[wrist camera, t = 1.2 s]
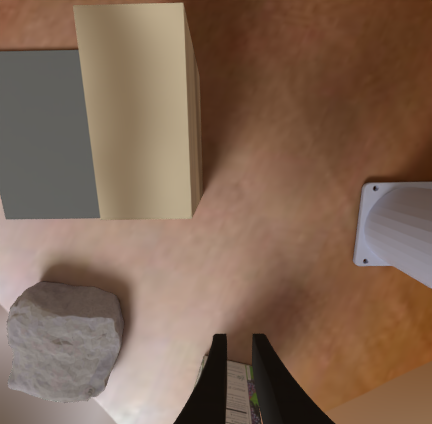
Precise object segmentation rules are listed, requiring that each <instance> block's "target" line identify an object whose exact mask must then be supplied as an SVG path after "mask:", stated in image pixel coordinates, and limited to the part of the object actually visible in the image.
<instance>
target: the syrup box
mask: <svg viewBox="0 0 432 424" xmlns="http://www.w3.org/2000/svg"><path fill="white" fill-rule="evenodd" d="M207 358H208V356H204V357H203V360H202V364H201V367H200V371H199V374H198V377H197V381H196V384H197V382H198V380H199V377H200V375H201V373H202V371H203V368H204V366H205V363H206V361H207ZM196 384H195V386H196ZM194 388H195V387H194ZM226 424H262V423H261V417H260V410H259V404H258V399H257V395H256V390H255V385H254V377H253V369H252V366H250V365H246V364H241V363H237V362H233V361H228V360H227V403H226Z"/></svg>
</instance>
